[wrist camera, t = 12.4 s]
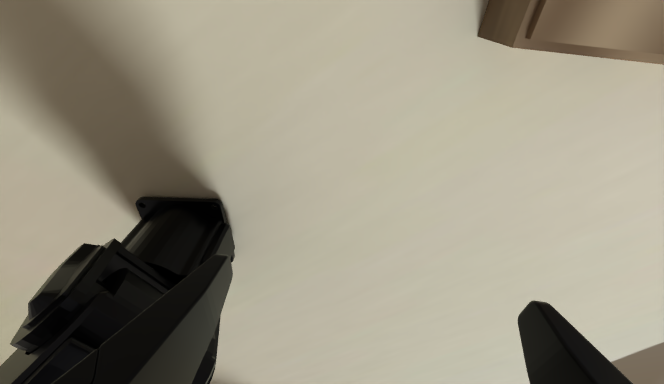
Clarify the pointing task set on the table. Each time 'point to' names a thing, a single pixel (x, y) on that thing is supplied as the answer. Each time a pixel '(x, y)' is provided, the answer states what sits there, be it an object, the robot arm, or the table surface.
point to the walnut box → (579, 27)
